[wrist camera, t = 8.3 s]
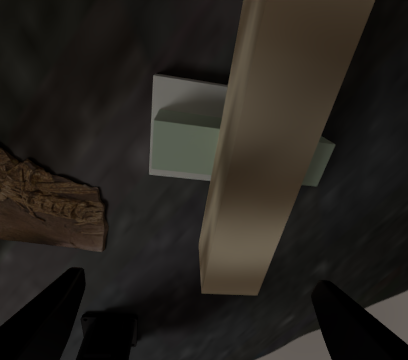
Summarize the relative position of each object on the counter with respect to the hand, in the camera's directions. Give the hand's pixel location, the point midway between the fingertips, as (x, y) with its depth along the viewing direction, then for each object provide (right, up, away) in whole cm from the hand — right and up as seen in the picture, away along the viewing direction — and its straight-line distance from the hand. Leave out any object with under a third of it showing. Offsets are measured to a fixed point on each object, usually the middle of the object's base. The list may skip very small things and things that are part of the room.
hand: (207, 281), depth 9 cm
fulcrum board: (+2, +7, +9) cm, 12 cm away
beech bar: (+2, +5, +5) cm, 8 cm away
